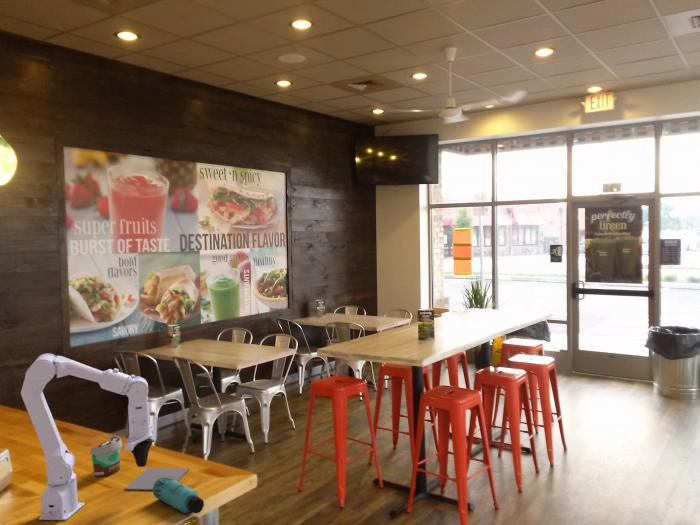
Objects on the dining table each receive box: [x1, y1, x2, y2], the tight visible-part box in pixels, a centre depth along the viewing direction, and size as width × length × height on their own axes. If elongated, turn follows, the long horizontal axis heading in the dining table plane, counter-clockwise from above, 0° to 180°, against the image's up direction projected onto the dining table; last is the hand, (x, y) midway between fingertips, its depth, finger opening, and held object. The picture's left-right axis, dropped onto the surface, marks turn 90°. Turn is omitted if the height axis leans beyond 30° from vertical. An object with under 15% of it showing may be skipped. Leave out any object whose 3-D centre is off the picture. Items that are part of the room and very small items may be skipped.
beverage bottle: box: [152, 476, 205, 514], centre depth 166 cm, size 6×7×20 cm
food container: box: [89, 434, 123, 478], centre depth 192 cm, size 12×6×10 cm, turn 168°
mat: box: [124, 467, 190, 491], centre depth 185 cm, size 16×14×1 cm
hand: (141, 465), depth 172 cm, fingers closed
